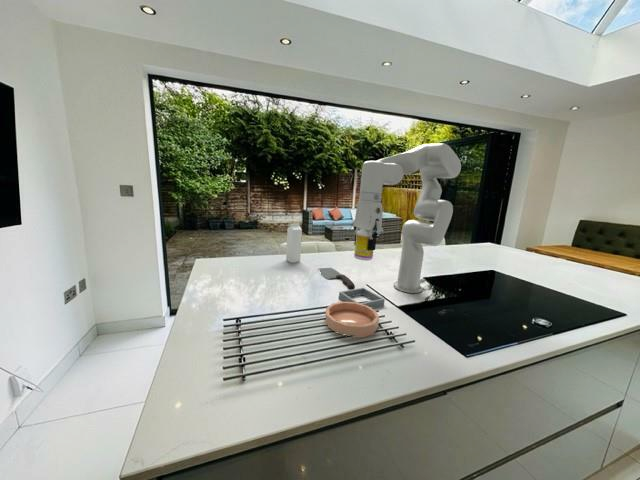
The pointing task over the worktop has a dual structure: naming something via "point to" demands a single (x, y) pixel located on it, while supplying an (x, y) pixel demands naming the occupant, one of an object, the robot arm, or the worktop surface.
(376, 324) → the bowl
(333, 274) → the cleaver
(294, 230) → the milk
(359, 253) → the supplement bottle
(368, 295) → the grey square frame
